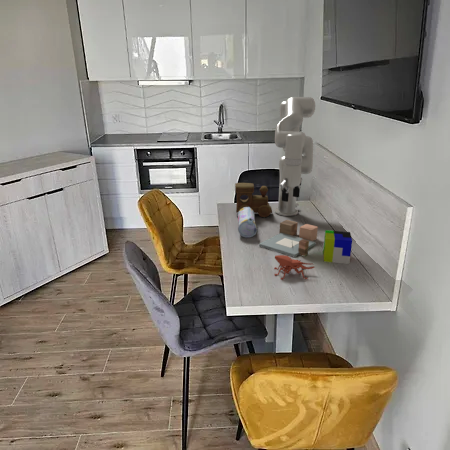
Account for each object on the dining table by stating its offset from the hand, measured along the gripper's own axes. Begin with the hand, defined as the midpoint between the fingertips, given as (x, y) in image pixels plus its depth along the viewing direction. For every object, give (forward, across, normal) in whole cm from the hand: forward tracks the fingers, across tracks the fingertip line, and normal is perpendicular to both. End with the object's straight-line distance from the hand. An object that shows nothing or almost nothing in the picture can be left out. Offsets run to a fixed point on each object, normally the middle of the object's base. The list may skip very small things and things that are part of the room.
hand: (290, 198), depth 184 cm
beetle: (+18, +34, +23) cm, 45 cm away
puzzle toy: (+18, +10, +29) cm, 35 cm away
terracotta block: (+18, -1, +10) cm, 20 cm away
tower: (+18, +16, +17) cm, 29 cm away
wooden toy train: (+18, -13, -30) cm, 37 cm away
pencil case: (+18, +9, -18) cm, 27 cm away
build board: (+18, +12, +7) cm, 22 cm away
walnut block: (+18, 0, 0) cm, 18 cm away
